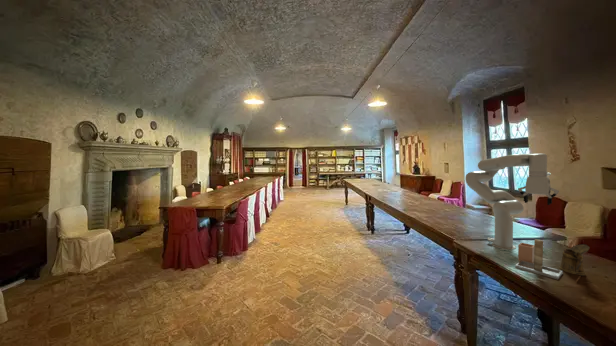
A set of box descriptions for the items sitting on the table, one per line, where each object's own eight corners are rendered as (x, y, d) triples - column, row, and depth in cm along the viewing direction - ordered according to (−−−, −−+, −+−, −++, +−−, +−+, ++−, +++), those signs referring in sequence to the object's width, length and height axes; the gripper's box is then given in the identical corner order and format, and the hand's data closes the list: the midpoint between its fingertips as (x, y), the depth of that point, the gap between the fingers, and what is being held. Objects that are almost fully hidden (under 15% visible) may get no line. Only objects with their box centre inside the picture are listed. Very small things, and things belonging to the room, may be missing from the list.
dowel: (534, 267, 123) (535, 238, 122) (543, 270, 120) (543, 240, 119) (533, 269, 121) (533, 240, 120) (541, 272, 119) (542, 242, 118)
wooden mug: (570, 278, 114) (570, 242, 113) (555, 266, 126) (555, 234, 125) (595, 281, 110) (596, 245, 109) (578, 269, 122) (578, 236, 121)
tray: (515, 268, 125) (515, 264, 125) (521, 264, 130) (521, 260, 130) (558, 281, 111) (558, 276, 111) (562, 275, 117) (562, 270, 117)
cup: (518, 261, 133) (518, 244, 133) (521, 259, 137) (521, 242, 136) (532, 265, 128) (532, 247, 128) (535, 262, 131) (535, 245, 131)
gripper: (560, 174, 129) (560, 204, 129) (520, 174, 143) (520, 201, 144) (557, 175, 125) (557, 206, 125) (516, 174, 139) (515, 202, 140)
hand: (537, 203), depth 135 cm, fingers open, 9 cm apart
